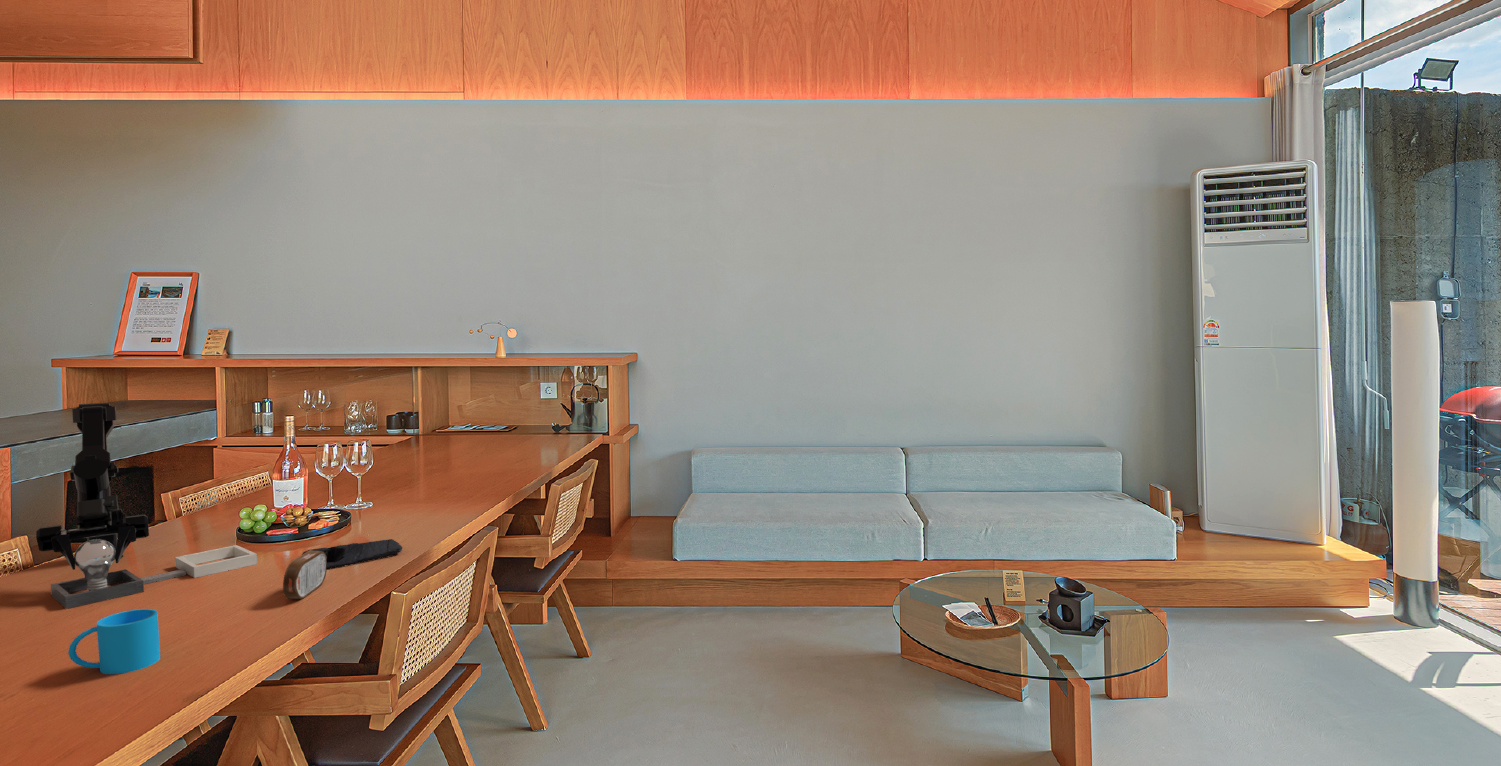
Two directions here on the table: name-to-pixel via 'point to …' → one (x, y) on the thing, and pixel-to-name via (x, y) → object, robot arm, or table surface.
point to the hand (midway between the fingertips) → (95, 565)
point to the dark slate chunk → (359, 552)
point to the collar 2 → (240, 560)
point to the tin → (304, 574)
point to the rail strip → (163, 576)
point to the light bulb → (95, 561)
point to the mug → (123, 642)
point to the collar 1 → (69, 601)
